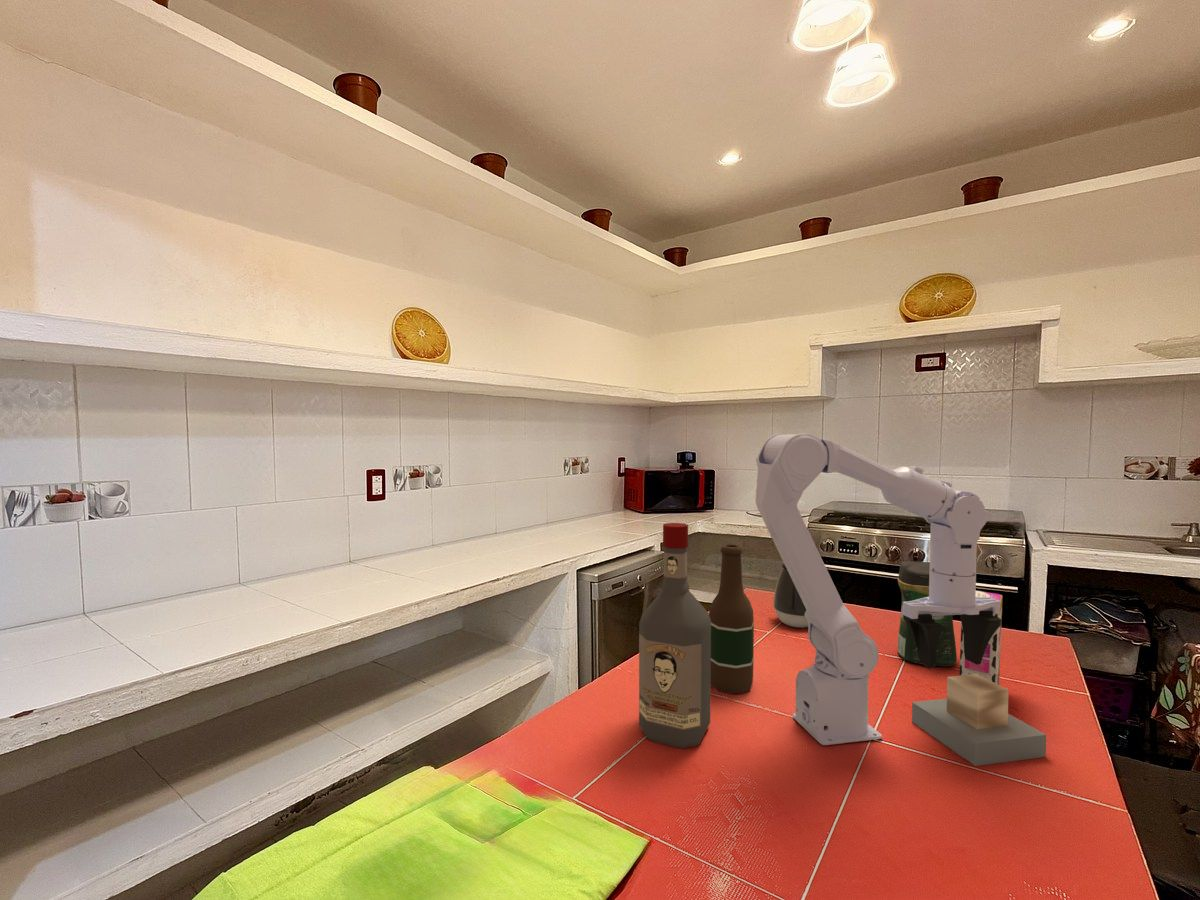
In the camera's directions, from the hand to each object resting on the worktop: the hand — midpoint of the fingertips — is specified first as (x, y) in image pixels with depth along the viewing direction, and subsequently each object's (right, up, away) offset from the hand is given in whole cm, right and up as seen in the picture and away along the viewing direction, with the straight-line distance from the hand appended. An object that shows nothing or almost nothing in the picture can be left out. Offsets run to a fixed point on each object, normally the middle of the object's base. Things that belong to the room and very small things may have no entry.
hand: (950, 663), depth 80 cm
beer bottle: (-29, -9, +14) cm, 33 cm away
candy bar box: (+11, -9, +9) cm, 17 cm away
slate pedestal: (+2, -9, -3) cm, 10 cm away
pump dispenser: (-7, -8, +43) cm, 45 cm away
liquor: (-40, -10, -1) cm, 42 cm away
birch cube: (+2, -6, -3) cm, 7 cm away
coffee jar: (+11, -9, +24) cm, 28 cm away
